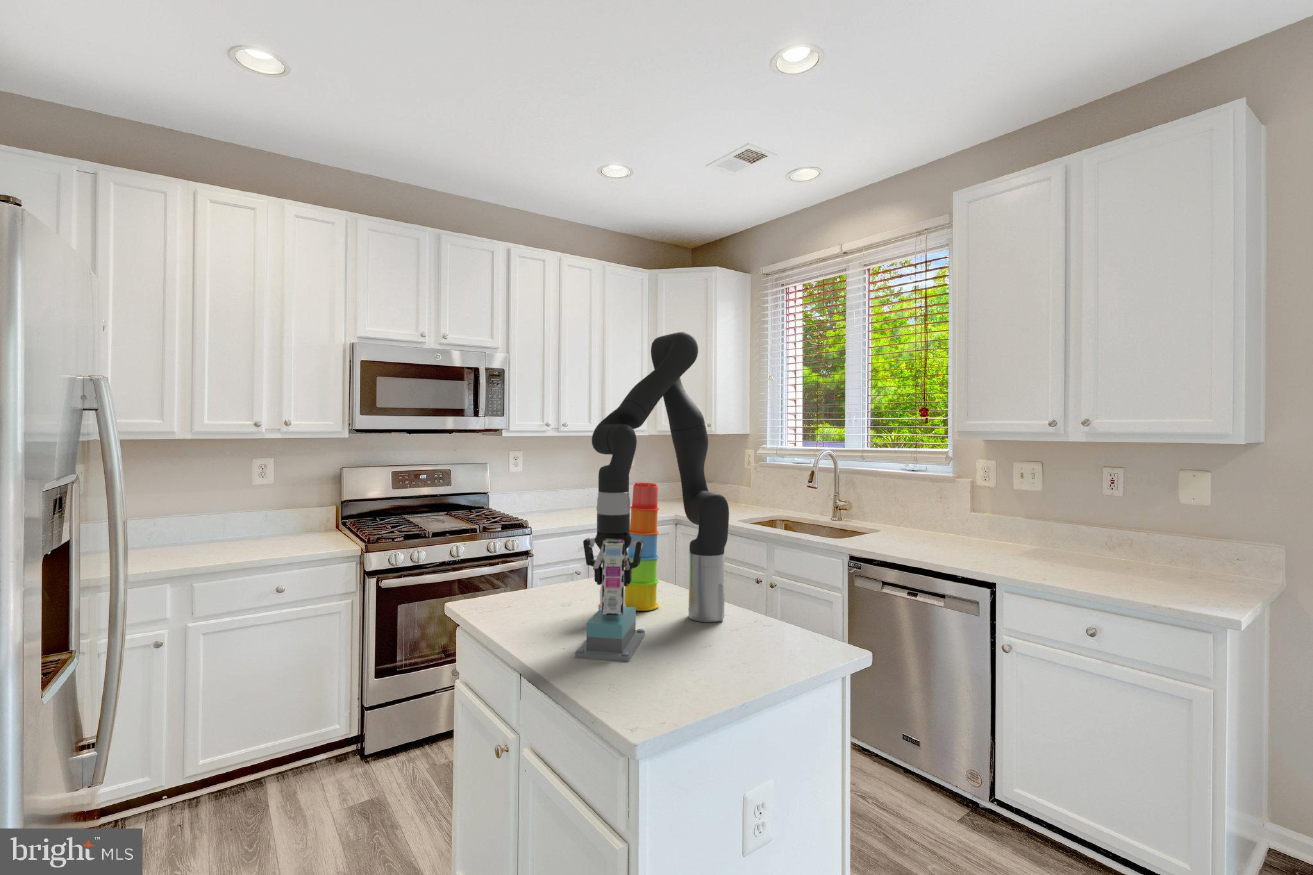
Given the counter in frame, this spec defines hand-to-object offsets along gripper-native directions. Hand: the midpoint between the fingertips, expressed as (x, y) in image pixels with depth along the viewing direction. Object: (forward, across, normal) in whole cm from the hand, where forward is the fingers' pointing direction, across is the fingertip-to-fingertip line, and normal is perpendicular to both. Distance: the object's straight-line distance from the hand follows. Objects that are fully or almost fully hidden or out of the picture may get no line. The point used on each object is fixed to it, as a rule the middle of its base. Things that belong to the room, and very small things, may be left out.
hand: (612, 584), depth 143 cm
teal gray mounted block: (+14, 0, 0) cm, 14 cm away
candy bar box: (+6, 0, 0) cm, 6 cm away
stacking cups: (+14, 0, -32) cm, 35 cm away
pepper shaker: (+14, +5, -20) cm, 25 cm away
